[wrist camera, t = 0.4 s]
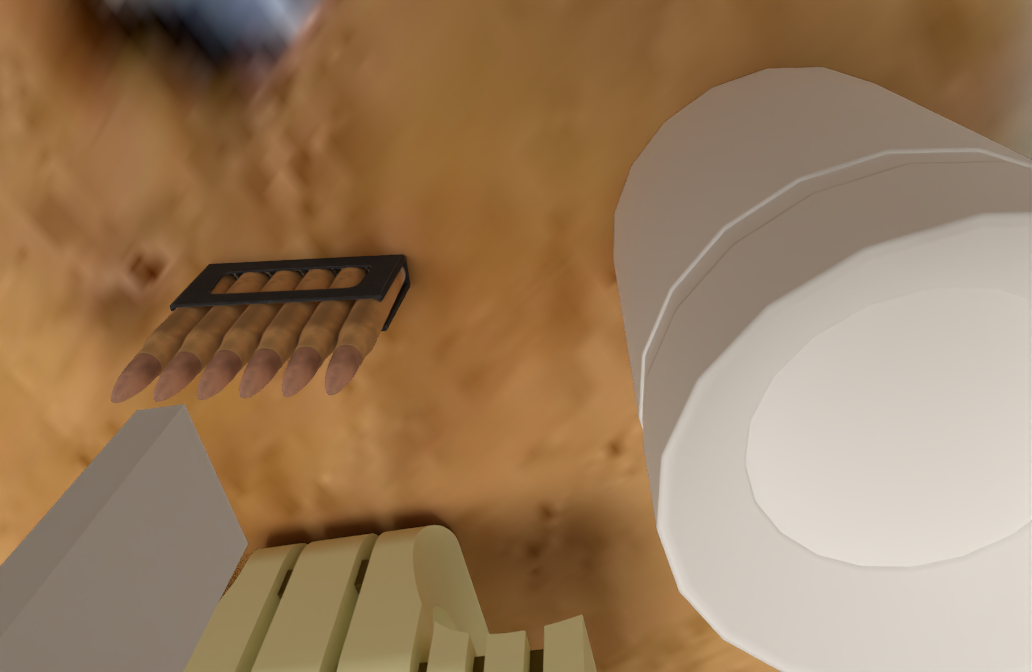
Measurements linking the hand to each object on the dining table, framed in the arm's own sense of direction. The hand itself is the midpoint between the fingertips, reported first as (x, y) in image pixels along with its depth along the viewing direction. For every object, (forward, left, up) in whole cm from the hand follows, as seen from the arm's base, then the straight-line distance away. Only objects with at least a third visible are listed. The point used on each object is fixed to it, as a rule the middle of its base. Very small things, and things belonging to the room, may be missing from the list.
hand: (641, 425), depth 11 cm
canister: (+9, +8, -28) cm, 30 cm away
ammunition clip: (+8, -16, -28) cm, 33 cm away
